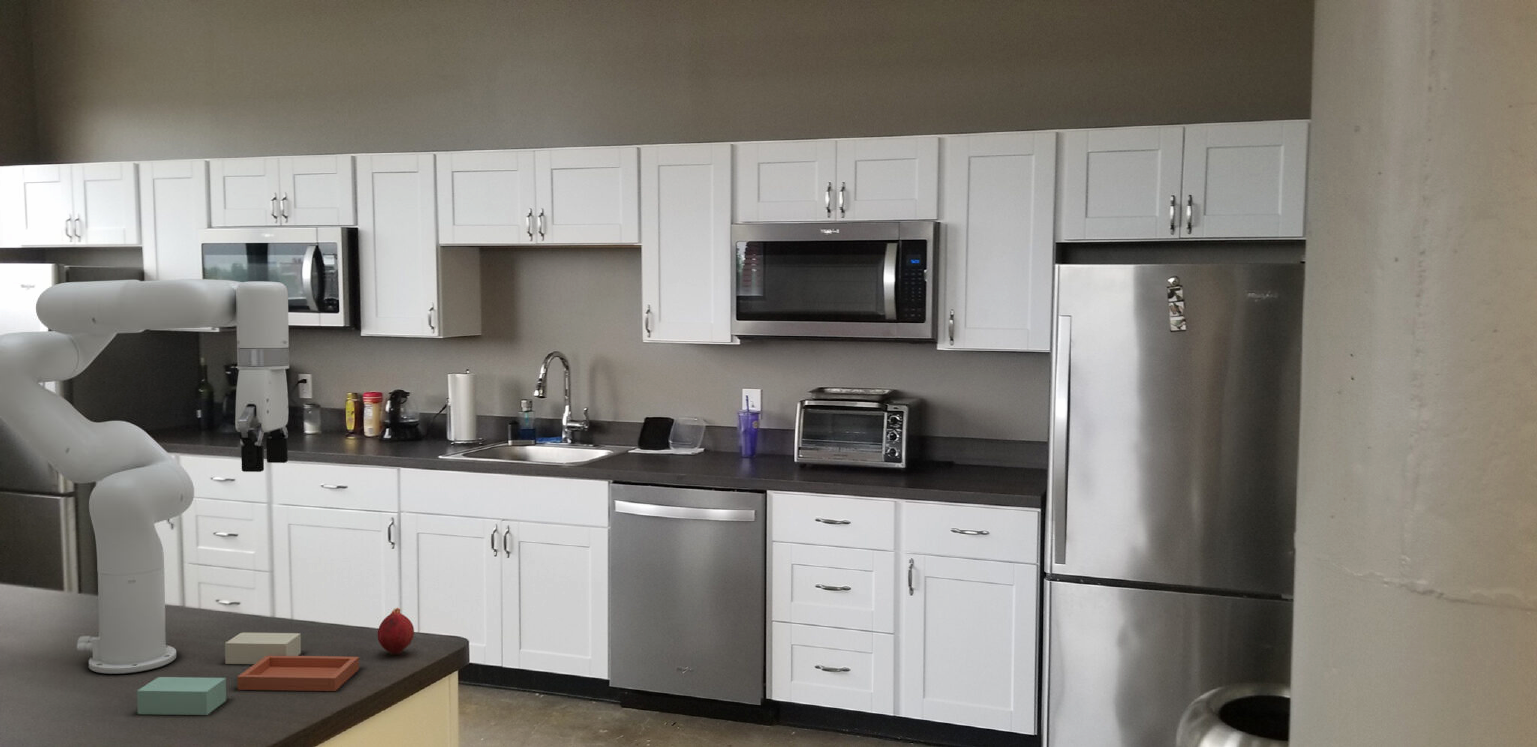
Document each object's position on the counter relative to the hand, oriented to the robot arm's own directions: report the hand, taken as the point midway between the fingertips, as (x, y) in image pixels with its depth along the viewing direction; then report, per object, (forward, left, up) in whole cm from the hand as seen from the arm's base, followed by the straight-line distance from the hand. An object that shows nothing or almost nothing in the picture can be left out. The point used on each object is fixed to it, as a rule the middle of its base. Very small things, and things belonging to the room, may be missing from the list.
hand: (265, 466), depth 184 cm
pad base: (-5, -17, -33) cm, 38 cm away
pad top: (-3, +6, -33) cm, 34 cm away
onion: (+18, +9, -33) cm, 39 cm away
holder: (+7, -4, -33) cm, 34 cm away
